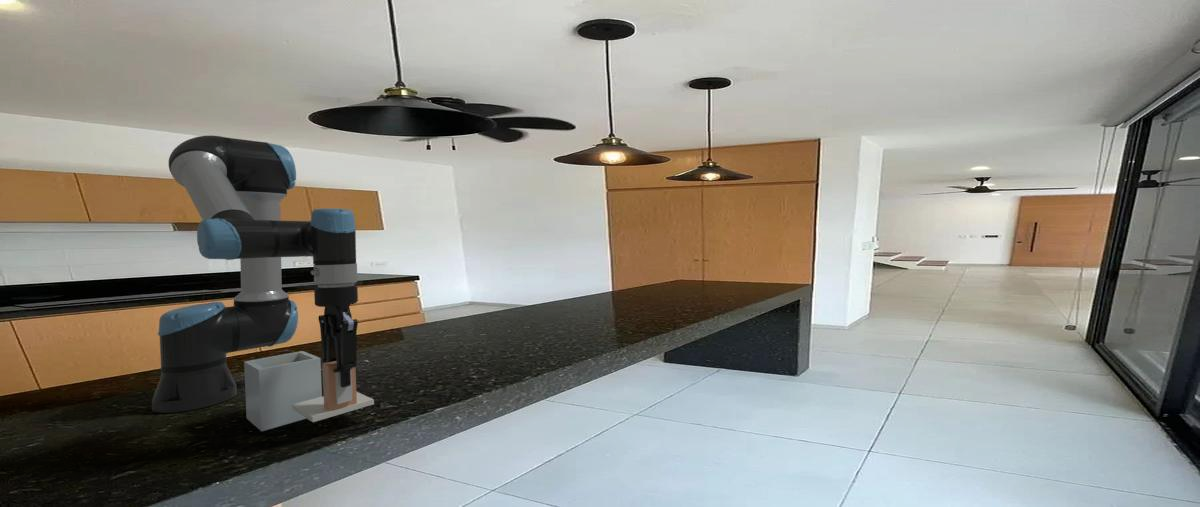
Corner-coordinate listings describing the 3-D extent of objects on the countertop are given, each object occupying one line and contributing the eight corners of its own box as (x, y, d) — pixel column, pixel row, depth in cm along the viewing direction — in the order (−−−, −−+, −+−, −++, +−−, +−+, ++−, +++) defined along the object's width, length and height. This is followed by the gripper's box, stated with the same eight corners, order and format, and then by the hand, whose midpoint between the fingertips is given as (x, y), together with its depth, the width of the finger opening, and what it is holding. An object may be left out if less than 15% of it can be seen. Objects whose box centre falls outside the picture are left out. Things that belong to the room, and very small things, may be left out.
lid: (292, 409, 91) (290, 361, 90) (351, 393, 99) (349, 349, 99) (312, 422, 83) (310, 370, 83) (374, 404, 92) (372, 357, 92)
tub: (246, 418, 95) (244, 361, 95) (304, 403, 104) (302, 350, 103) (261, 431, 88) (259, 370, 88) (322, 413, 97) (320, 358, 97)
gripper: (300, 285, 91) (305, 397, 91) (331, 289, 81) (336, 415, 81) (340, 282, 96) (344, 387, 97) (373, 285, 86) (377, 402, 87)
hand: (340, 399), depth 89 cm, fingers closed on lid, 3 cm apart
